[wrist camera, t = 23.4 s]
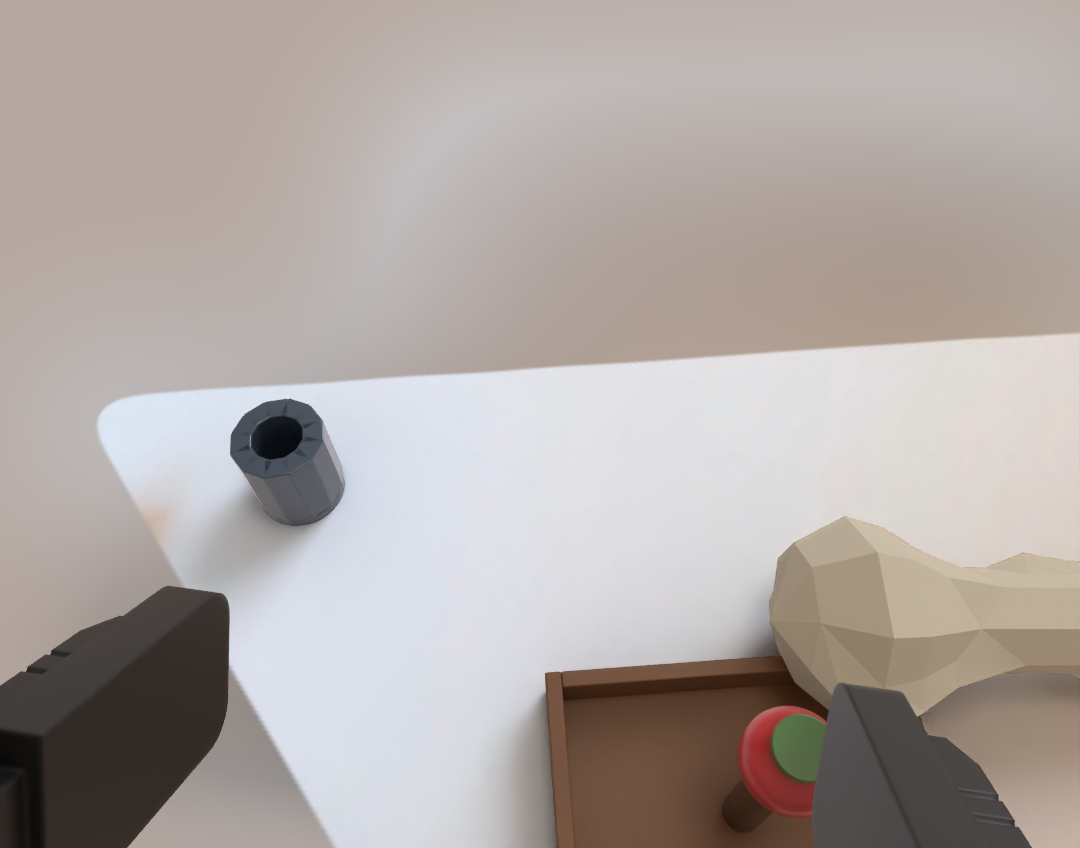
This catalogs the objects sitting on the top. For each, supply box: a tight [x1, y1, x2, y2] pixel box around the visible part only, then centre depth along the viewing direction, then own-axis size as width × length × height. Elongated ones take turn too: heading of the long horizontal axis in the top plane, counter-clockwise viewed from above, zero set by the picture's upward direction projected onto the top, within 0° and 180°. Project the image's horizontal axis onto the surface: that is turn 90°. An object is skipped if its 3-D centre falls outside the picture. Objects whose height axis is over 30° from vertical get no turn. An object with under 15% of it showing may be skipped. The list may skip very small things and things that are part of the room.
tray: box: [545, 656, 923, 848], centre depth 35 cm, size 15×11×3 cm
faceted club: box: [769, 516, 1080, 717], centre depth 37 cm, size 9×8×25 cm
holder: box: [230, 399, 345, 525], centre depth 44 cm, size 4×4×5 cm
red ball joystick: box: [722, 706, 827, 832], centre depth 31 cm, size 3×3×11 cm
